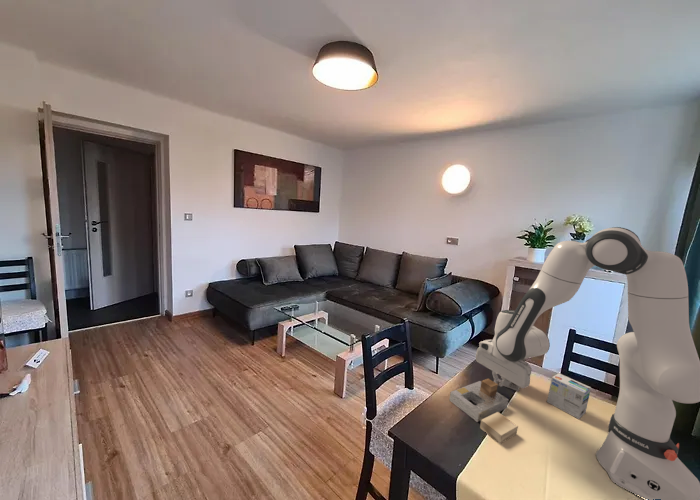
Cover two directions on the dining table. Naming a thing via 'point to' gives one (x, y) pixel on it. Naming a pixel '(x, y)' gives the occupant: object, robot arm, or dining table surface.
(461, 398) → the plate
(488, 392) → the walnut block
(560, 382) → the light bulb box
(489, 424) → the beige rectangular block
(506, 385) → the coffee box
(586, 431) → the dining table surface
